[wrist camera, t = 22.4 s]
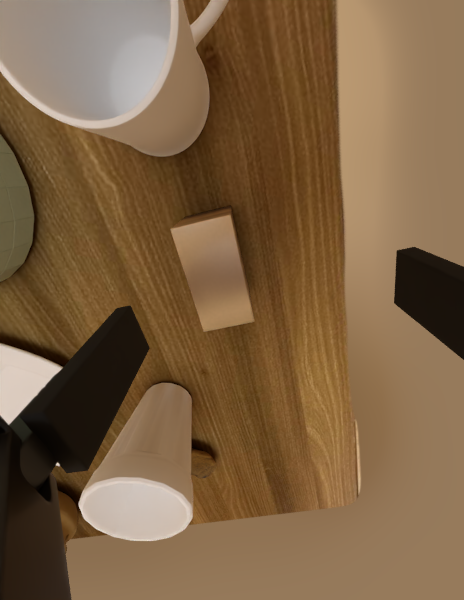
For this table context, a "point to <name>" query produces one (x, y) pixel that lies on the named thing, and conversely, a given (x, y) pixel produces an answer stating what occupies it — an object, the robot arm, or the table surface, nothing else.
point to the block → (214, 268)
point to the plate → (21, 379)
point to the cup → (146, 471)
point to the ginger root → (202, 463)
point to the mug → (112, 66)
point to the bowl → (13, 213)
